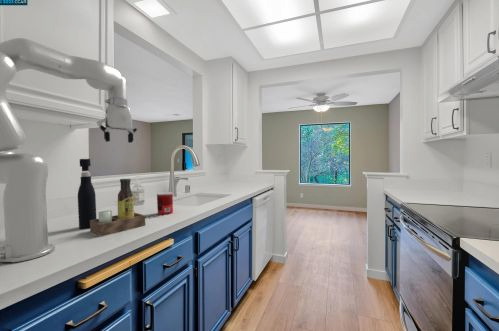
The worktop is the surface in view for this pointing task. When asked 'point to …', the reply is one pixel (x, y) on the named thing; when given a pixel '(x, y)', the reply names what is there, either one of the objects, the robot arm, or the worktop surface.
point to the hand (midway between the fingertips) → (119, 141)
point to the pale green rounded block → (105, 217)
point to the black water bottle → (86, 197)
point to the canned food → (165, 203)
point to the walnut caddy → (116, 225)
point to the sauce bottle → (125, 200)
